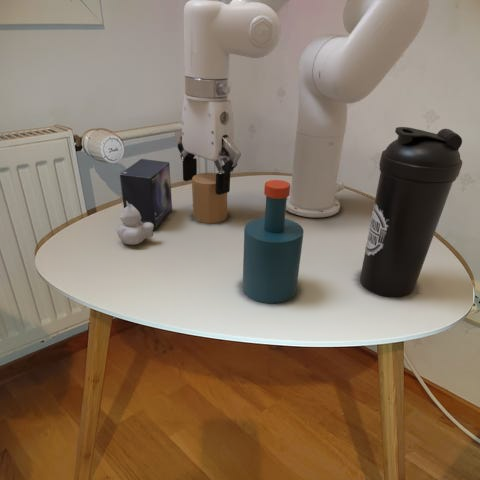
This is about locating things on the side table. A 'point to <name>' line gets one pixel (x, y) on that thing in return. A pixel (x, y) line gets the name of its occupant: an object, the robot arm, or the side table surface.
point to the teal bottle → (272, 249)
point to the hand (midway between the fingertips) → (205, 186)
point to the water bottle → (408, 208)
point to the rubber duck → (133, 226)
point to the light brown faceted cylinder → (208, 199)
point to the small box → (148, 190)
